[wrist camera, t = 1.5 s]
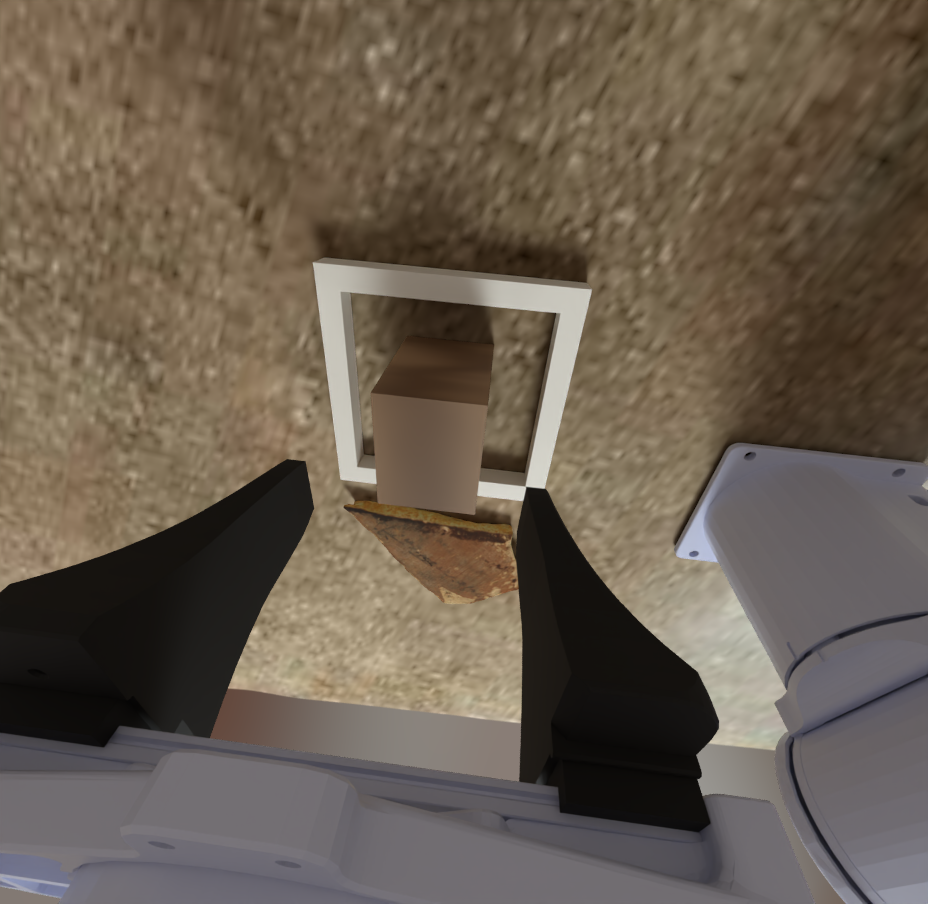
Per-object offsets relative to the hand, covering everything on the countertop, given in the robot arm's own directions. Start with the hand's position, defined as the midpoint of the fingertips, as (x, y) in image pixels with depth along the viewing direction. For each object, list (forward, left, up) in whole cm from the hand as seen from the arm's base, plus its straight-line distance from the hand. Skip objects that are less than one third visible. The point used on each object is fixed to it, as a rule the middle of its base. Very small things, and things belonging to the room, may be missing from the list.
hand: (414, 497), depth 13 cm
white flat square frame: (0, 0, -8) cm, 8 cm away
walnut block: (0, 0, -8) cm, 8 cm away
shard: (0, +12, -9) cm, 15 cm away
